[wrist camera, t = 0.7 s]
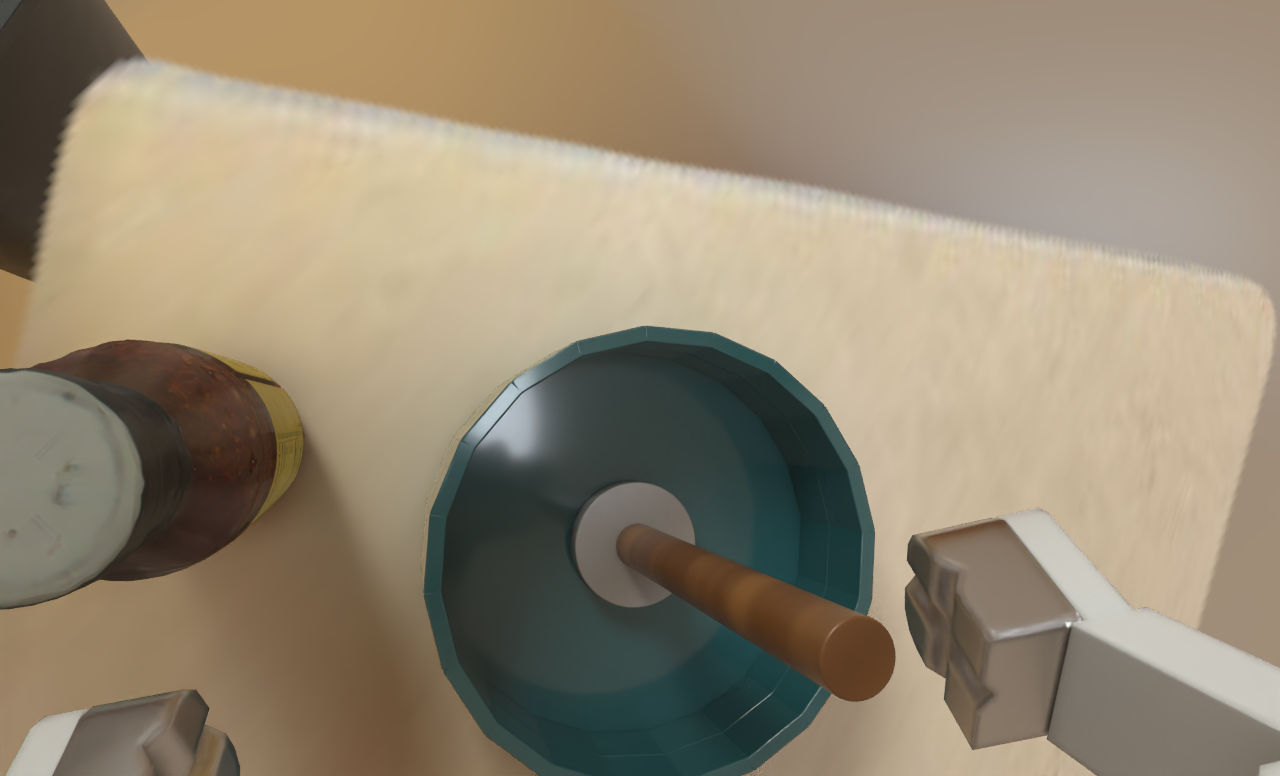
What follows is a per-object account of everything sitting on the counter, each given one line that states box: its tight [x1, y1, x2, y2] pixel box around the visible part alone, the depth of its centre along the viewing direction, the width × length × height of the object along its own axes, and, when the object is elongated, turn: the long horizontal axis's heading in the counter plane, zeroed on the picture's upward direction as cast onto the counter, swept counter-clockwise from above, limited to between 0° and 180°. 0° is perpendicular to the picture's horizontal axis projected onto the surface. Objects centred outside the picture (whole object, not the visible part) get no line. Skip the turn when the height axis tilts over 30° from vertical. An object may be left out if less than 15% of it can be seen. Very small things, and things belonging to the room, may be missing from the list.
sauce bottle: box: [0, 340, 304, 609], centre depth 23 cm, size 7×6×20 cm
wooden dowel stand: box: [570, 481, 895, 702], centre depth 27 cm, size 5×5×19 cm
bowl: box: [421, 326, 875, 776], centre depth 34 cm, size 17×17×6 cm
